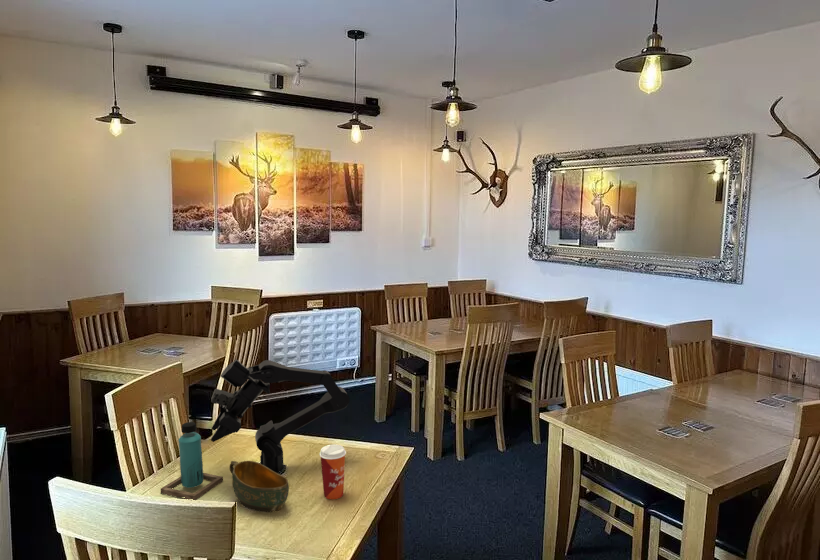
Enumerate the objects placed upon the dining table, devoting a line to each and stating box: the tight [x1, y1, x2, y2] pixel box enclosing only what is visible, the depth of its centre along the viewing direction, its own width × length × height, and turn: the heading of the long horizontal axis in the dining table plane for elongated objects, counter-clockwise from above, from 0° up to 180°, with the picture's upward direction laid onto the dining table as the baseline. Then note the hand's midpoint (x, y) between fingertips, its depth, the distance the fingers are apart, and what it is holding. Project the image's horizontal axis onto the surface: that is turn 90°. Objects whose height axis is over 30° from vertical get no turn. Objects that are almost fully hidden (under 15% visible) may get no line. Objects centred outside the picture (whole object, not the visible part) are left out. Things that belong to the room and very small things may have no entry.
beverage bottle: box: [177, 421, 205, 489], centre depth 165 cm, size 6×7×20 cm
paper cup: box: [319, 444, 347, 501], centre depth 161 cm, size 8×8×14 cm
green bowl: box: [229, 460, 290, 513], centre depth 157 cm, size 13×20×10 cm, turn 32°
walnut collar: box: [160, 472, 224, 501], centre depth 166 cm, size 12×12×2 cm
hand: (212, 435), depth 170 cm, fingers open, 9 cm apart
